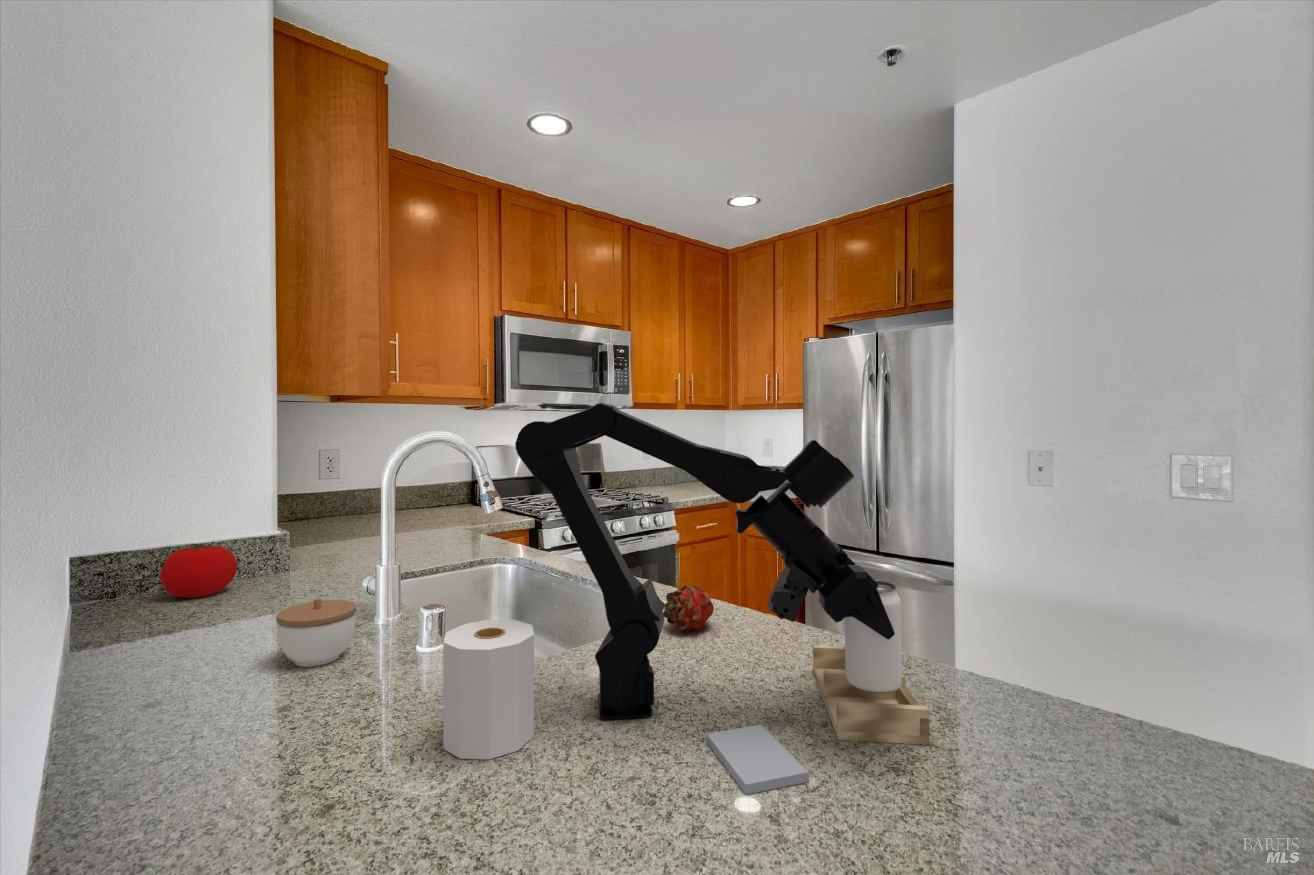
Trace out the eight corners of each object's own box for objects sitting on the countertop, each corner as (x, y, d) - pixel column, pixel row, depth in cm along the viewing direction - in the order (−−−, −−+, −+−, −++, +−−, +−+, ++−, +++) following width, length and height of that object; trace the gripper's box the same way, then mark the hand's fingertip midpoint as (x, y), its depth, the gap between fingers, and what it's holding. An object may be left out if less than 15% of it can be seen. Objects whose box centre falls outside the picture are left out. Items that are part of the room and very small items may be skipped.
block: (745, 794, 57) (745, 784, 57) (706, 742, 66) (706, 733, 66) (808, 781, 59) (808, 772, 59) (761, 733, 68) (761, 724, 68)
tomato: (145, 602, 120) (145, 549, 120) (204, 585, 133) (204, 537, 133) (194, 605, 118) (194, 551, 118) (249, 588, 131) (249, 539, 131)
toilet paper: (535, 711, 74) (535, 616, 74) (532, 756, 63) (532, 646, 63) (451, 718, 72) (451, 620, 72) (434, 765, 62) (434, 651, 62)
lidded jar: (259, 666, 88) (259, 604, 87) (324, 642, 97) (324, 586, 97) (310, 678, 84) (309, 612, 83) (372, 652, 93) (371, 593, 93)
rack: (838, 739, 67) (838, 705, 67) (812, 672, 86) (812, 645, 86) (929, 745, 66) (929, 709, 66) (883, 675, 85) (883, 648, 85)
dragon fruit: (670, 648, 99) (695, 636, 110) (710, 624, 97) (731, 614, 108) (646, 603, 102) (673, 596, 113) (684, 578, 100) (708, 573, 111)
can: (913, 692, 68) (911, 590, 68) (862, 697, 67) (860, 593, 67) (883, 670, 75) (882, 577, 75) (836, 674, 74) (834, 580, 74)
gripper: (743, 561, 82) (821, 643, 81) (749, 599, 64) (851, 706, 62) (801, 507, 81) (881, 589, 80) (824, 529, 63) (930, 637, 62)
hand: (883, 627), depth 71 cm, fingers closed on can, 6 cm apart
